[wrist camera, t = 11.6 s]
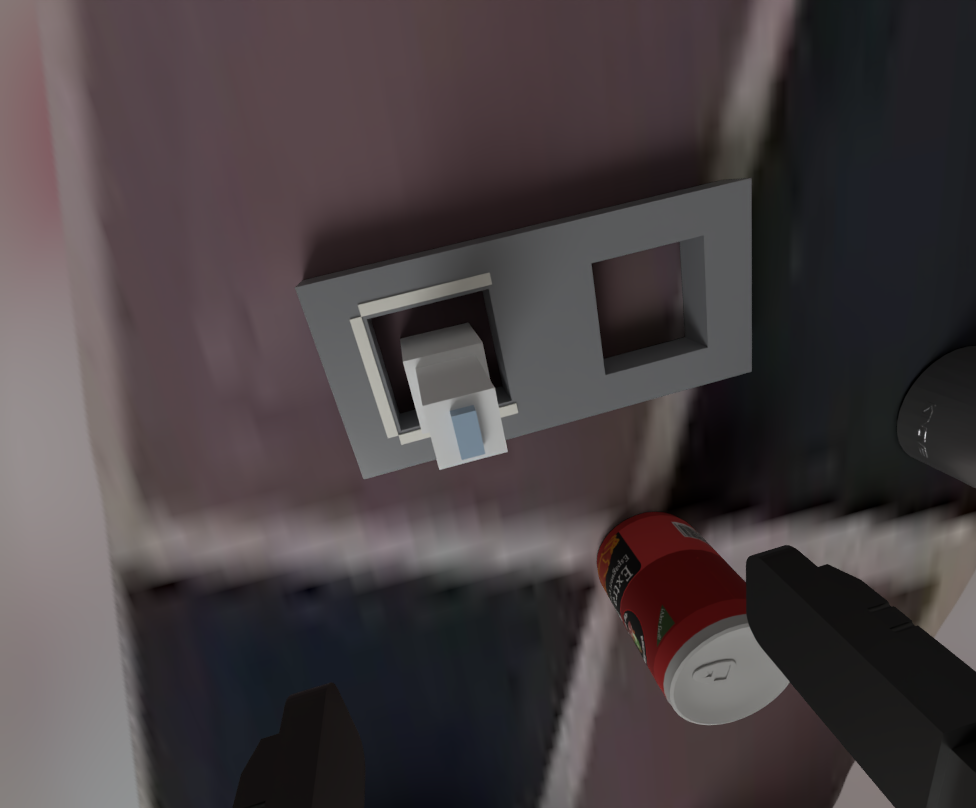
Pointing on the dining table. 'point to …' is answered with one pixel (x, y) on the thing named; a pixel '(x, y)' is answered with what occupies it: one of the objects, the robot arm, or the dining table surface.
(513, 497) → the dining table surface
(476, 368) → the plug
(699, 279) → the panel
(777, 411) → the dining table surface
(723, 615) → the canned food
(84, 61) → the dining table surface
